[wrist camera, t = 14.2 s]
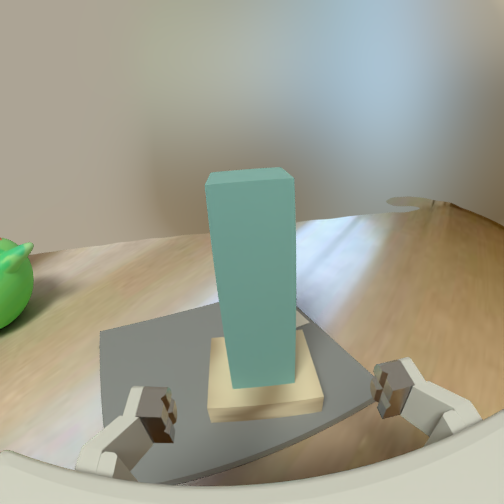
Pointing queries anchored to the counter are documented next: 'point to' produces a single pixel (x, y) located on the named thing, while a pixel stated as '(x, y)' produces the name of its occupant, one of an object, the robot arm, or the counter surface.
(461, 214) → the counter surface
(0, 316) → the toy bird
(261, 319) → the column
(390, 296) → the counter surface
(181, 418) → the base plate
